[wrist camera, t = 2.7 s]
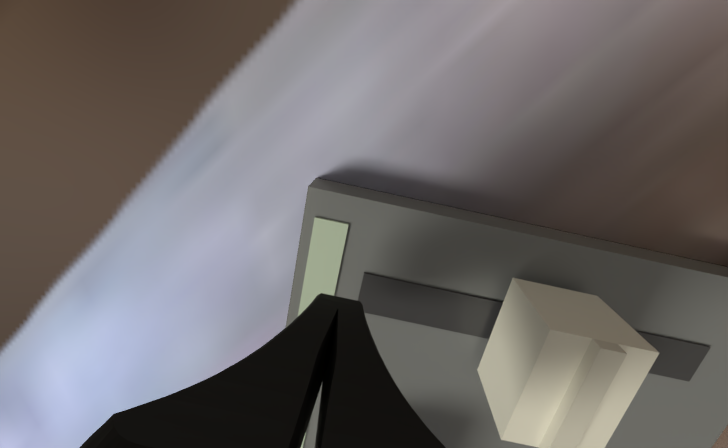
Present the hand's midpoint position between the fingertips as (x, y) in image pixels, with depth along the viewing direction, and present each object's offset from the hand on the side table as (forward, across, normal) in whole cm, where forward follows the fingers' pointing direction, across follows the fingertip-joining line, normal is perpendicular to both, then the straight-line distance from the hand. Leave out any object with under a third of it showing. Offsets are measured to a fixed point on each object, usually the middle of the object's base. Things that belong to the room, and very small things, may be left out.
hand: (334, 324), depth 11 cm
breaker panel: (+4, -7, +4) cm, 9 cm away
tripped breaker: (+2, -7, 0) cm, 7 cm away
